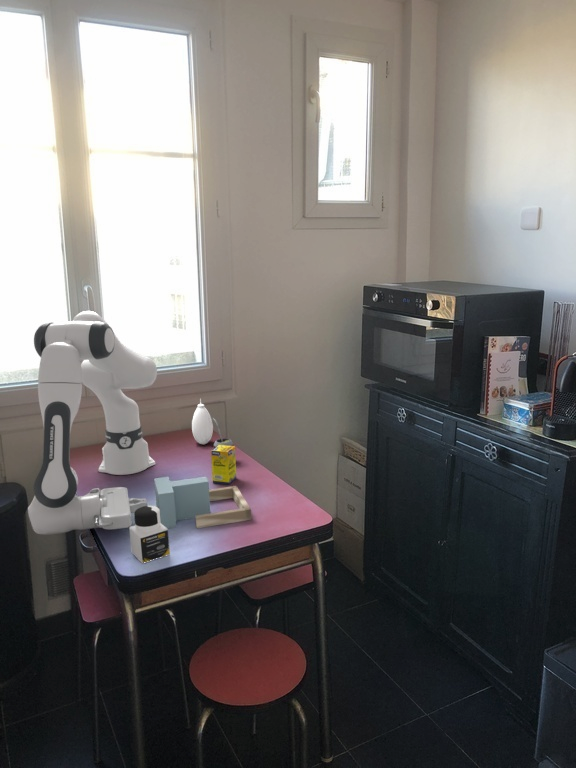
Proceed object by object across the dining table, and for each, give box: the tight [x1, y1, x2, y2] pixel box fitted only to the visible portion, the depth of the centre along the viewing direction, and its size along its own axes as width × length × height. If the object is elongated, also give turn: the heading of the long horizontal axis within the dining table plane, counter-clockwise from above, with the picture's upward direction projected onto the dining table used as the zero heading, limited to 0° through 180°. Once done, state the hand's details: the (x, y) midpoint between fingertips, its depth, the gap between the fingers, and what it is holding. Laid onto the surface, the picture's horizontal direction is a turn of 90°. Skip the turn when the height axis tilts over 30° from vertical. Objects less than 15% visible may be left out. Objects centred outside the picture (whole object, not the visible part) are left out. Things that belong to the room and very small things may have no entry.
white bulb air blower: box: [191, 397, 214, 446], centre depth 234 cm, size 8×8×18 cm
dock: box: [195, 485, 252, 529], centre depth 176 cm, size 18×15×3 cm
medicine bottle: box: [128, 505, 171, 564], centre depth 152 cm, size 7×7×12 cm
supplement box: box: [210, 445, 237, 485], centre depth 198 cm, size 6×6×11 cm
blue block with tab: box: [153, 476, 211, 529], centre depth 173 cm, size 12×14×10 cm
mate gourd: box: [212, 417, 235, 450], centre depth 214 cm, size 8×8×15 cm
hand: (146, 503), depth 170 cm, fingers closed
